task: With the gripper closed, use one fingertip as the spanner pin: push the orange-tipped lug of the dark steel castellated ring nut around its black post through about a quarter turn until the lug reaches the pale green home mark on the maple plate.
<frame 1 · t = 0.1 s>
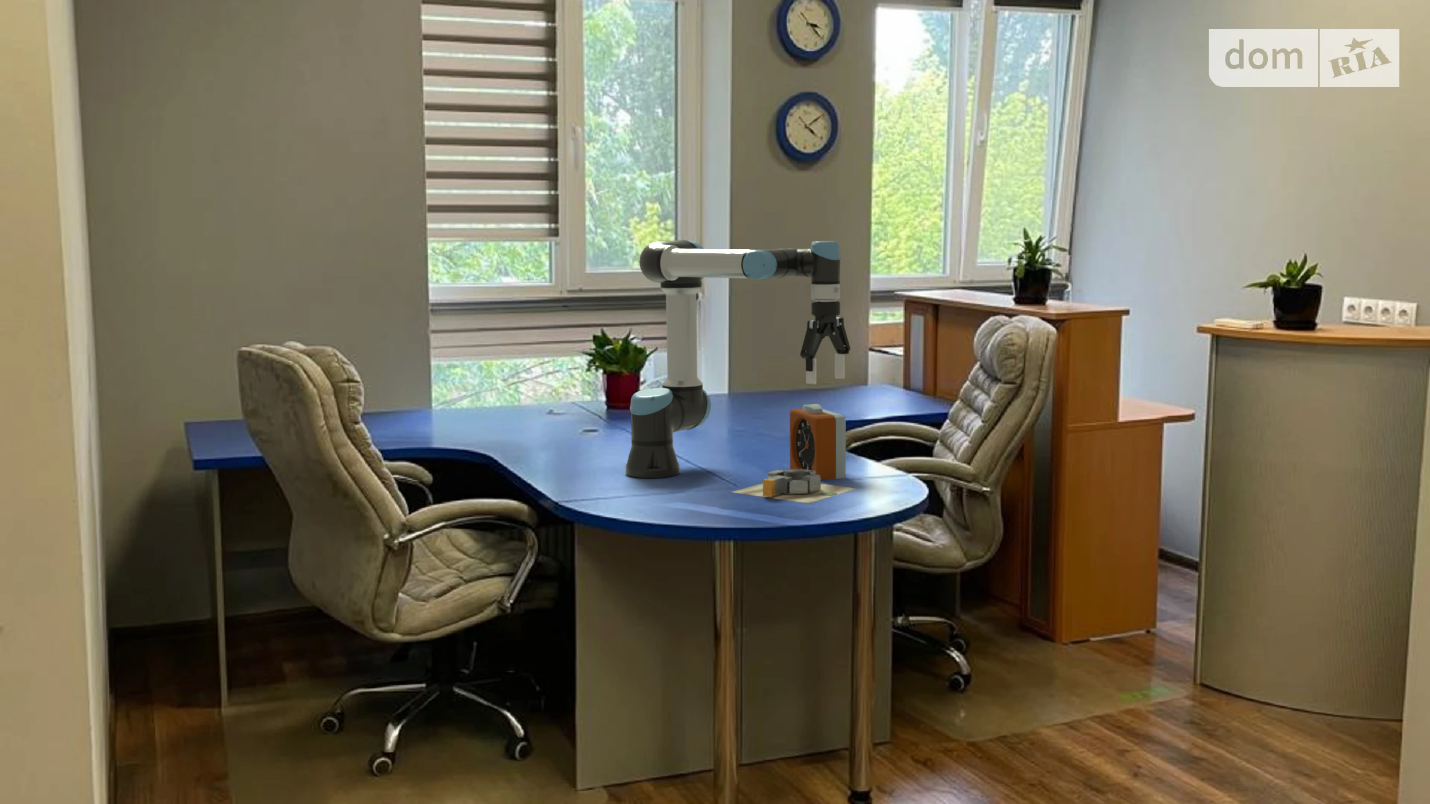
hand: (825, 381, 354), 28 cm above the table, fingers open, 13 cm apart
collar base: (793, 496, 345), on the table
ring nut: (788, 482, 342), point 4 cm above the table, hinge at 0.0°
alarm clock: (817, 479, 368), on the table
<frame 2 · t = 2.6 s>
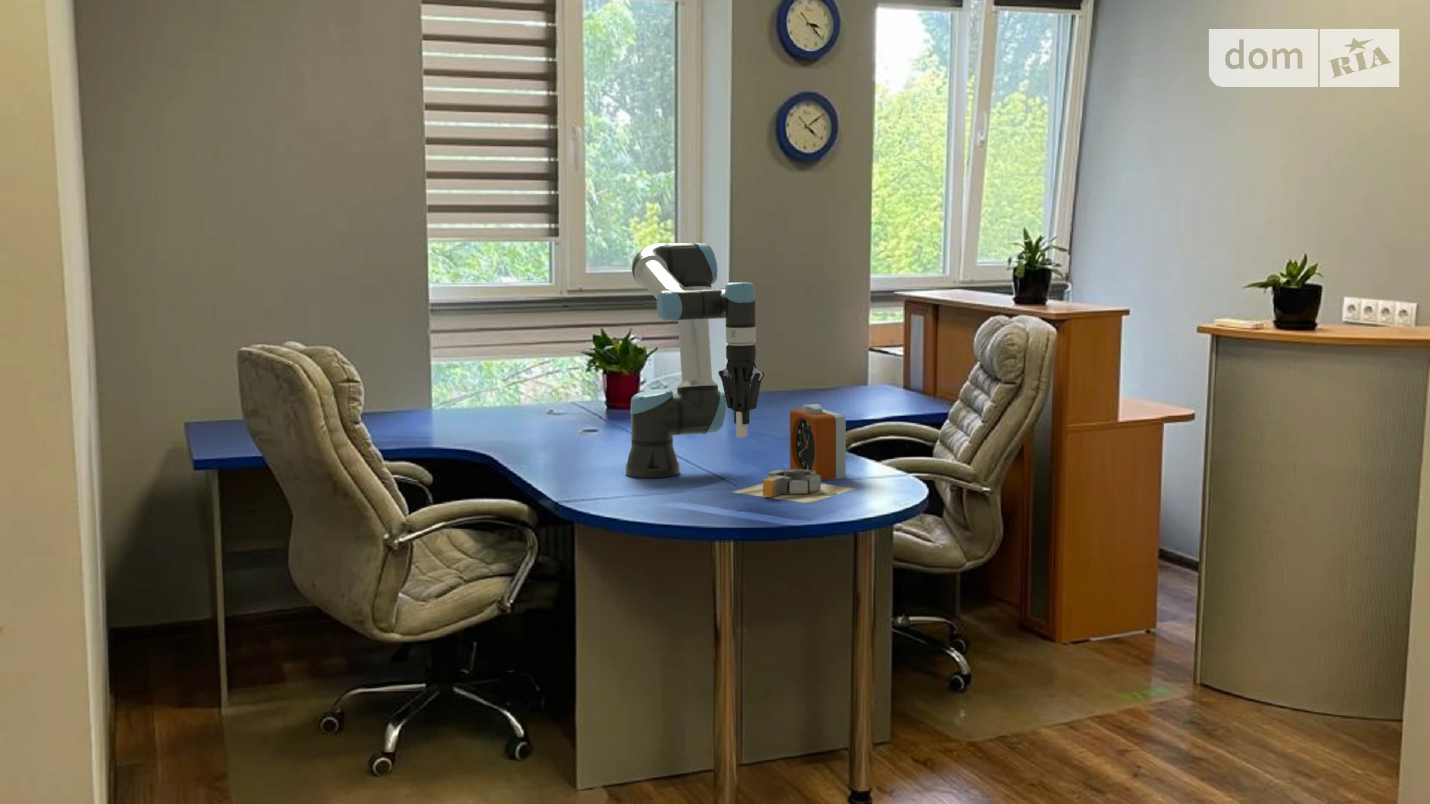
hand: (741, 436, 341), 16 cm above the table, fingers closed
nothing on the table moved.
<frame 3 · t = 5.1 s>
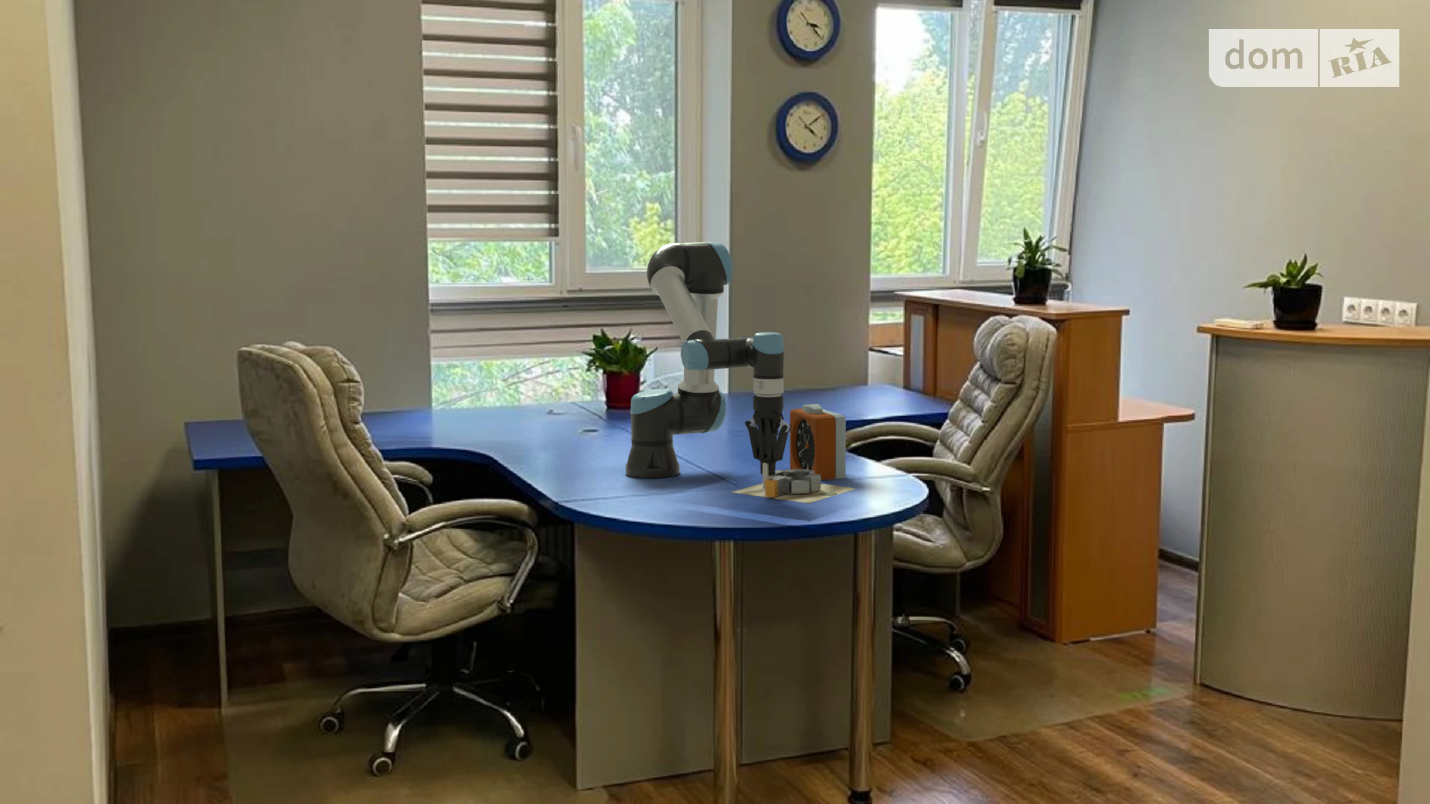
hand: (767, 487, 337), 4 cm above the table, fingers closed
ring nut: (788, 482, 342), point 4 cm above the table, hinge at 4.0°, touching gripper
everything else where it was.
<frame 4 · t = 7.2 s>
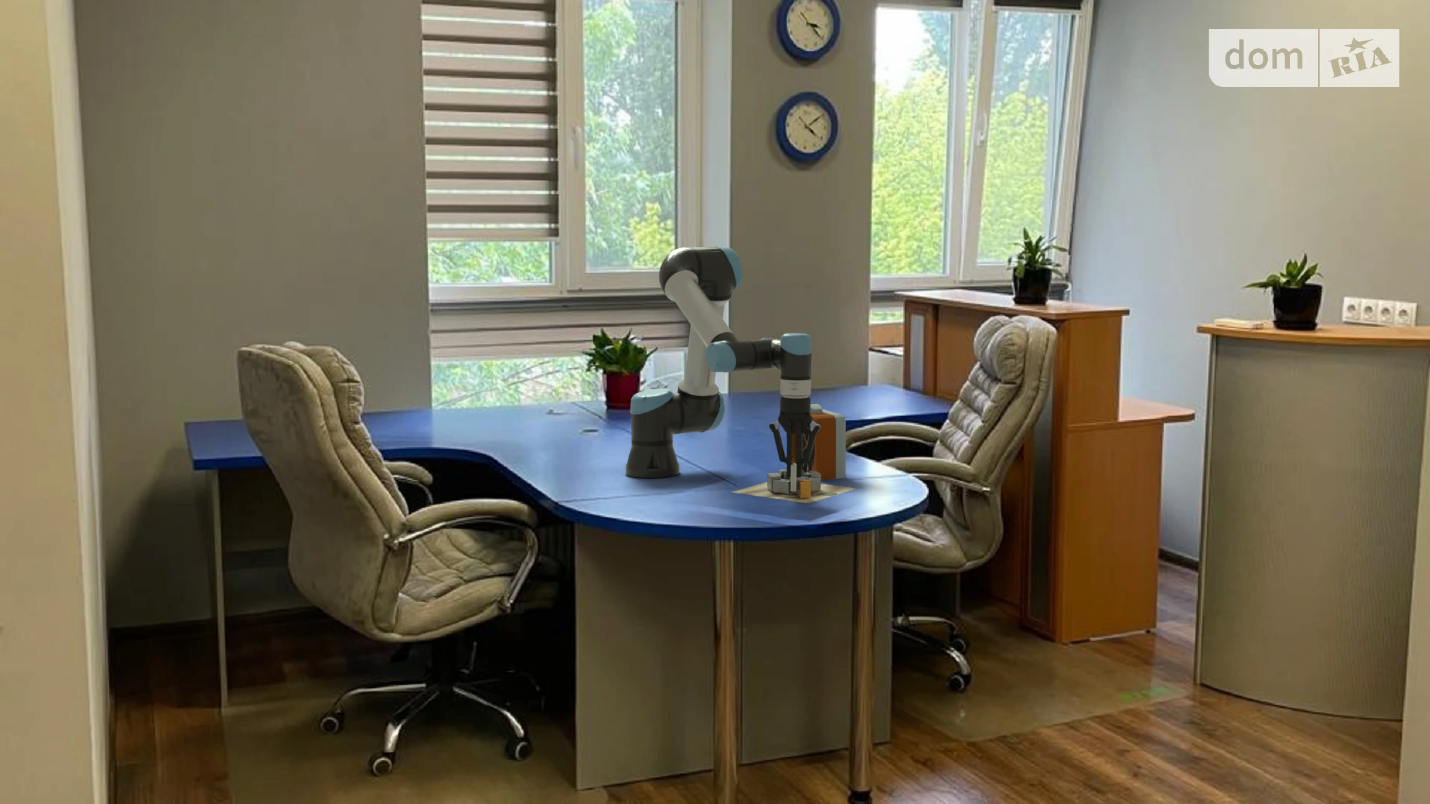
hand: (794, 490, 335), 4 cm above the table, fingers closed
ring nut: (796, 482, 342), point 4 cm above the table, hinge at 48.8°, touching gripper
everything else where it was.
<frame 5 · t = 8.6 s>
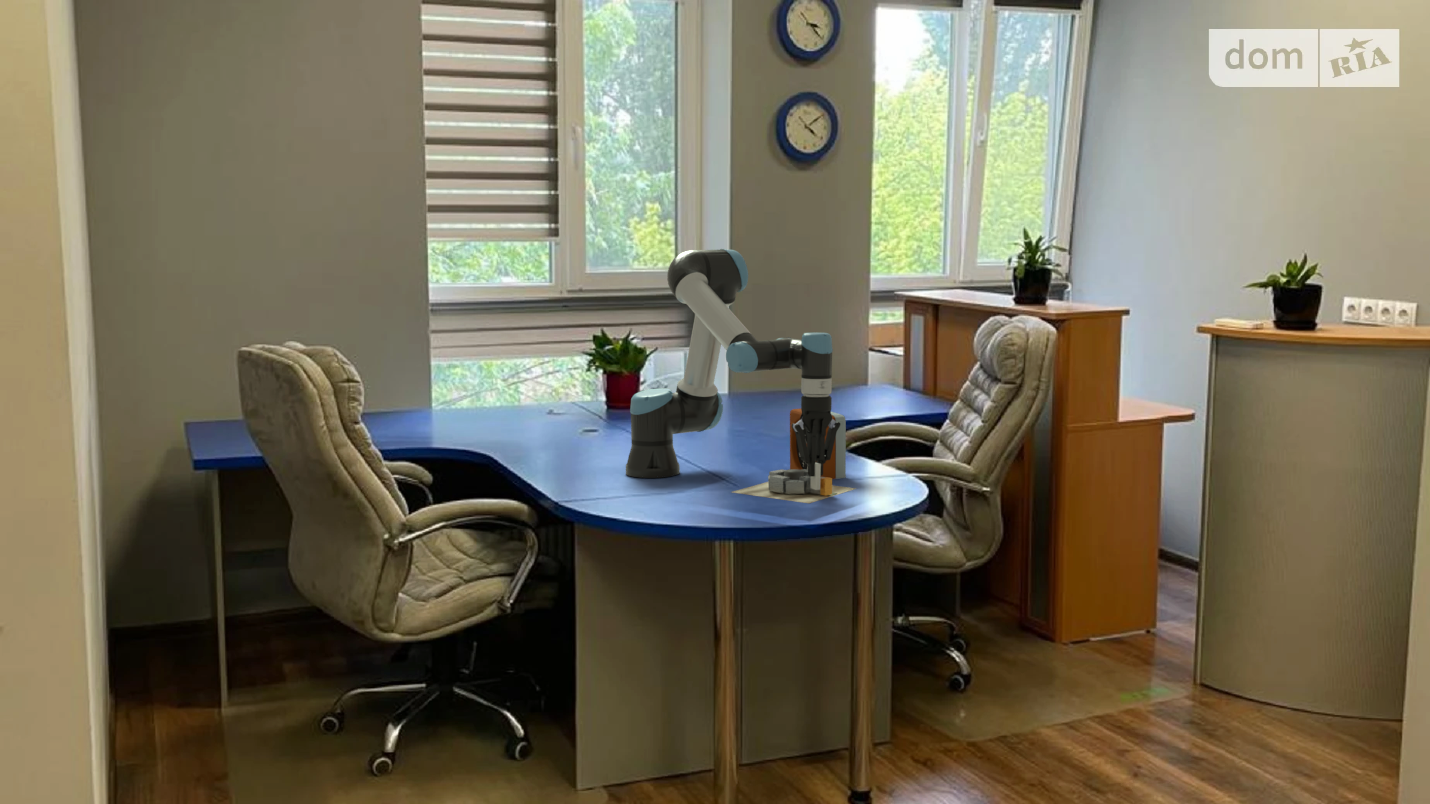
hand: (815, 488, 336), 4 cm above the table, fingers closed
ring nut: (801, 482, 342), point 4 cm above the table, hinge at 81.7°, touching gripper
everything else where it was.
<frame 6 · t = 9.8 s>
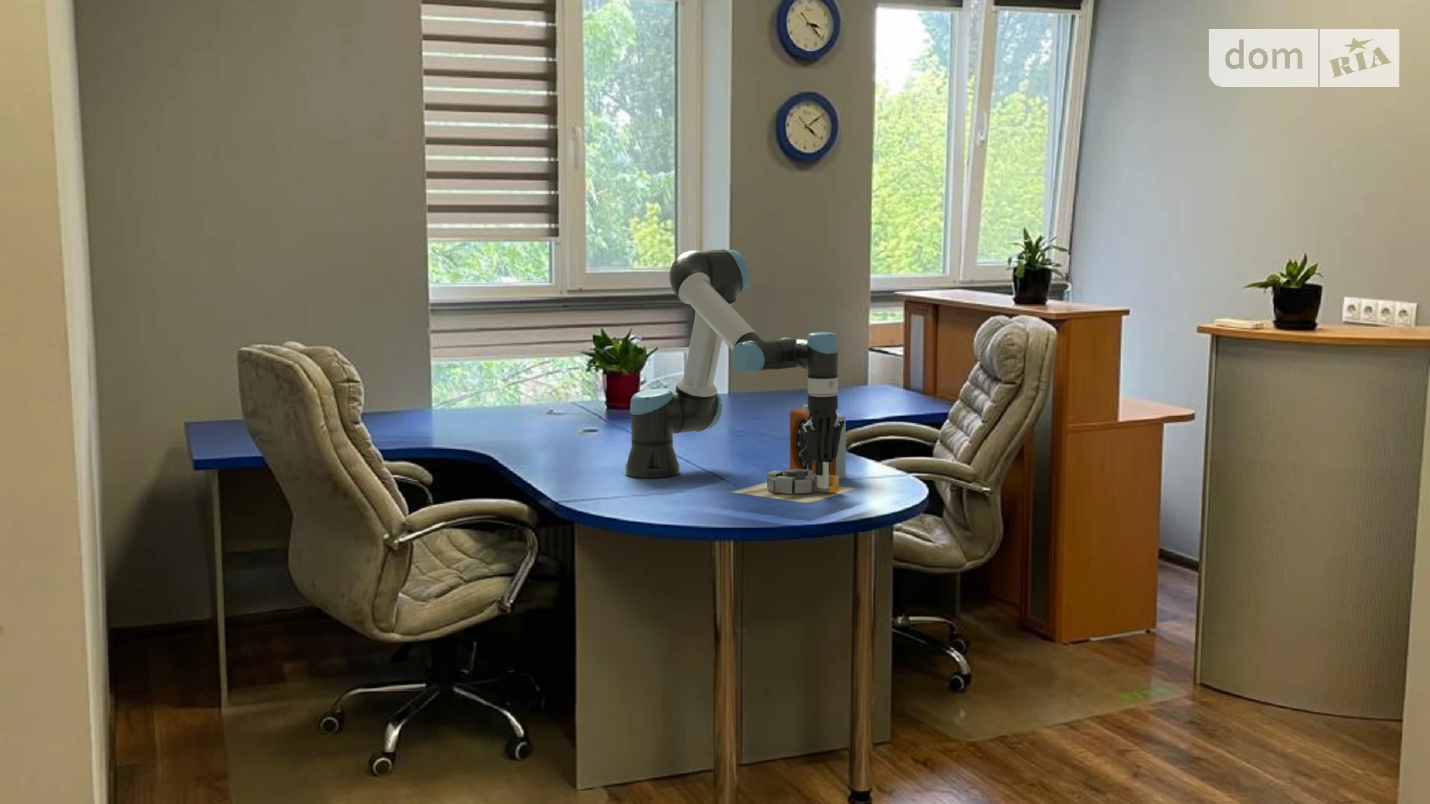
hand: (822, 487, 338), 3 cm above the table, fingers closed
ring nut: (803, 481, 343), point 4 cm above the table, hinge at 101.0°
everything else where it was.
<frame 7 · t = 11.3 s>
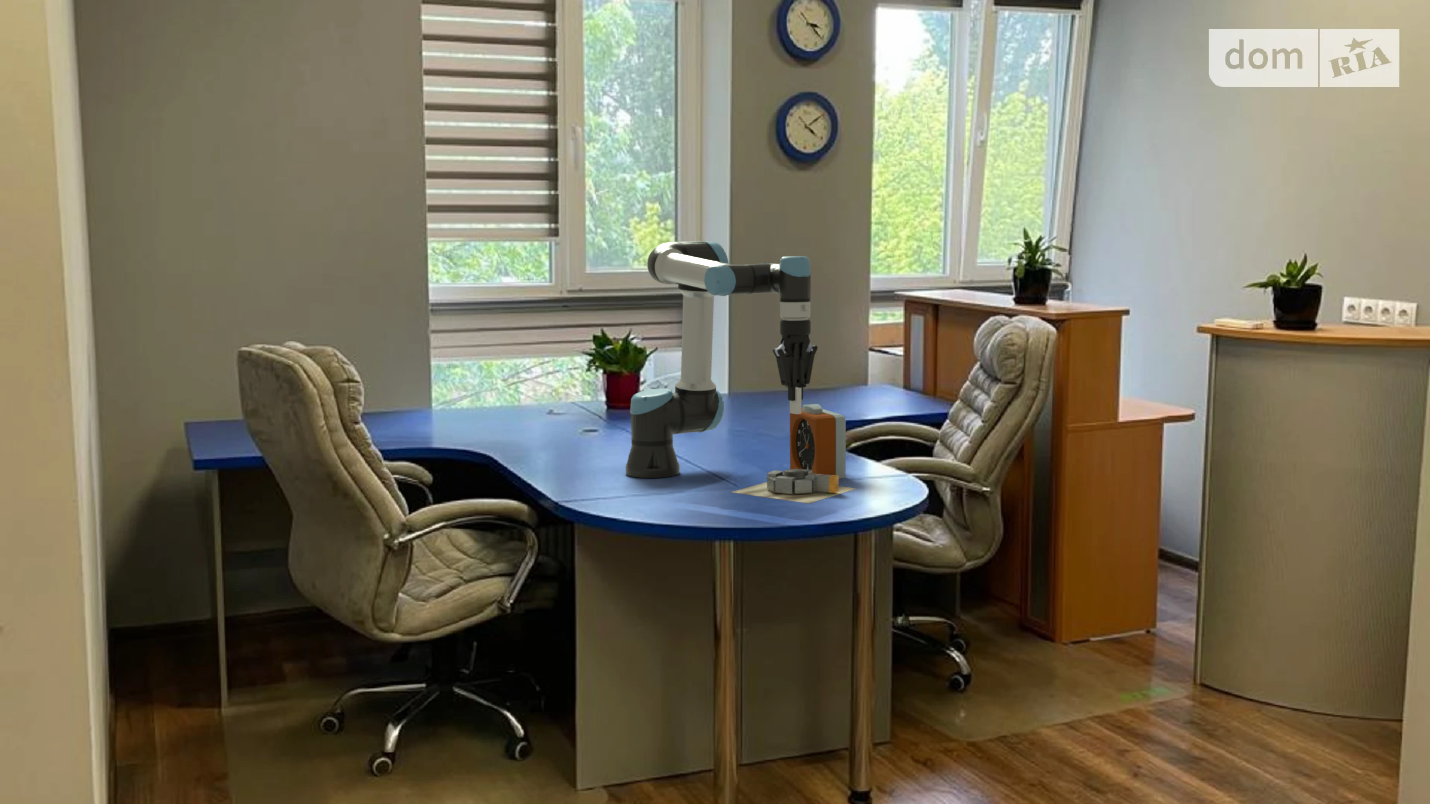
hand: (795, 413, 335), 22 cm above the table, fingers closed
nothing on the table moved.
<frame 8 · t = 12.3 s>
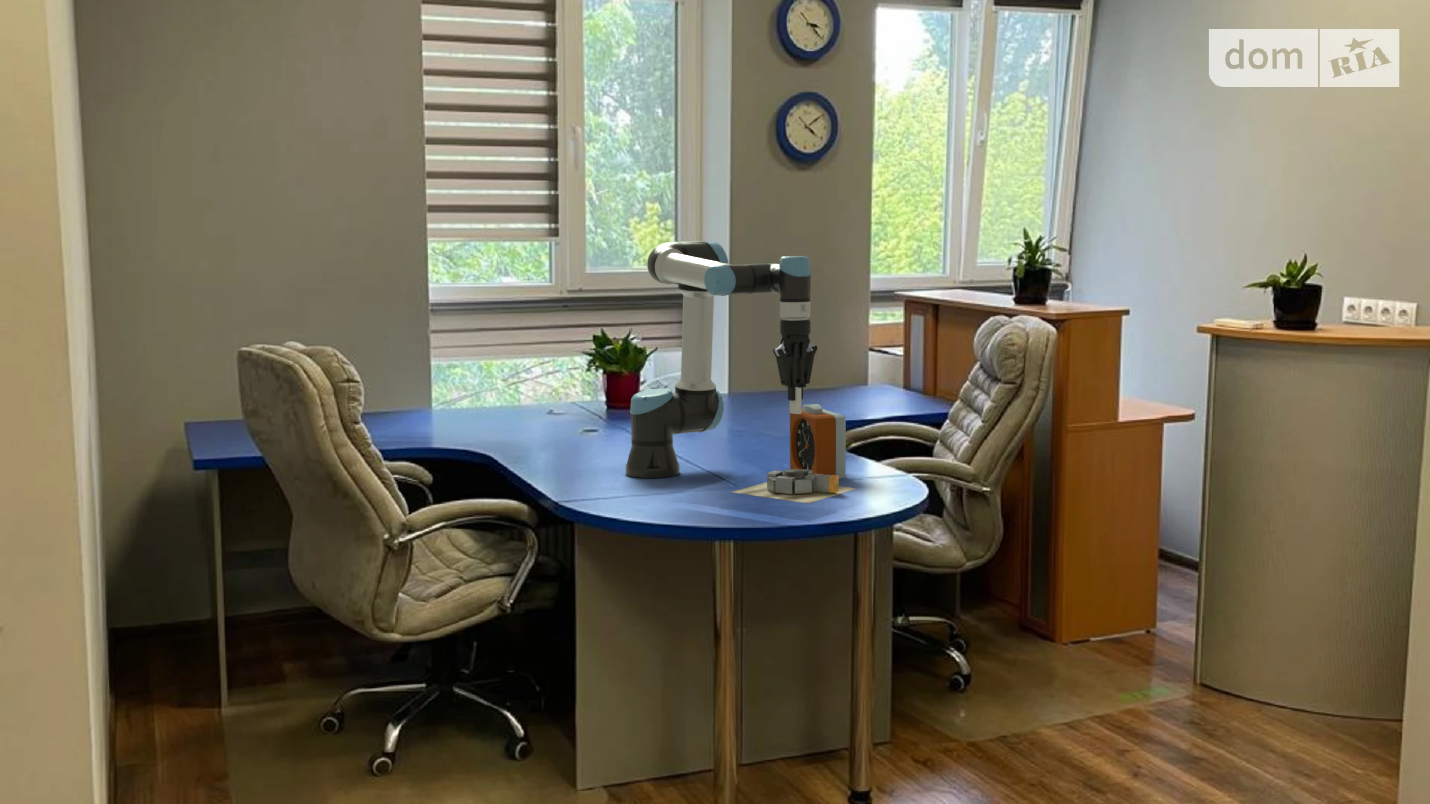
hand: (795, 413, 335), 22 cm above the table, fingers closed
nothing on the table moved.
at the end: ring nut at +101° (first picture: +0°); ring nut touching nothing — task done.
